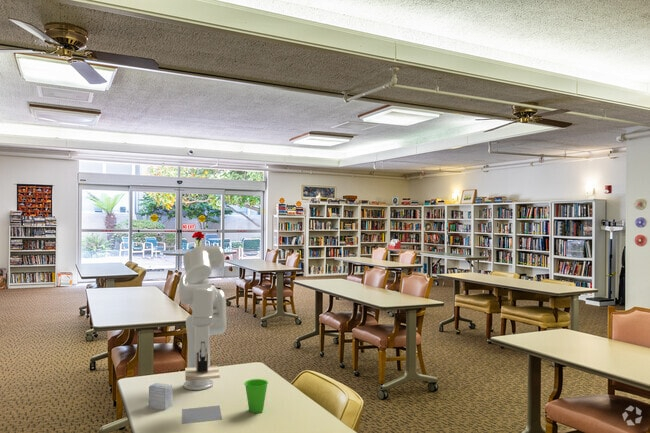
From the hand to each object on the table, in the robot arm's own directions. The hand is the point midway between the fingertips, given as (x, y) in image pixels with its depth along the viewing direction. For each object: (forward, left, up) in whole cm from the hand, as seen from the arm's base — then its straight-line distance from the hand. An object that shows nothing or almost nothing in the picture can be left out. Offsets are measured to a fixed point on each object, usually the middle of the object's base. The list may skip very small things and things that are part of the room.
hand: (202, 368), depth 180 cm
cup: (+2, +20, -17) cm, 27 cm away
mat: (0, 0, -17) cm, 17 cm away
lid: (0, 0, -2) cm, 2 cm away
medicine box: (-12, -15, -17) cm, 26 cm away
